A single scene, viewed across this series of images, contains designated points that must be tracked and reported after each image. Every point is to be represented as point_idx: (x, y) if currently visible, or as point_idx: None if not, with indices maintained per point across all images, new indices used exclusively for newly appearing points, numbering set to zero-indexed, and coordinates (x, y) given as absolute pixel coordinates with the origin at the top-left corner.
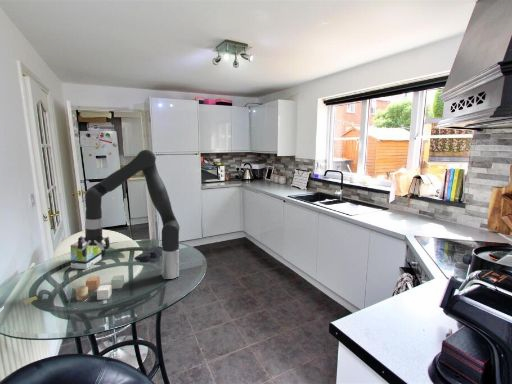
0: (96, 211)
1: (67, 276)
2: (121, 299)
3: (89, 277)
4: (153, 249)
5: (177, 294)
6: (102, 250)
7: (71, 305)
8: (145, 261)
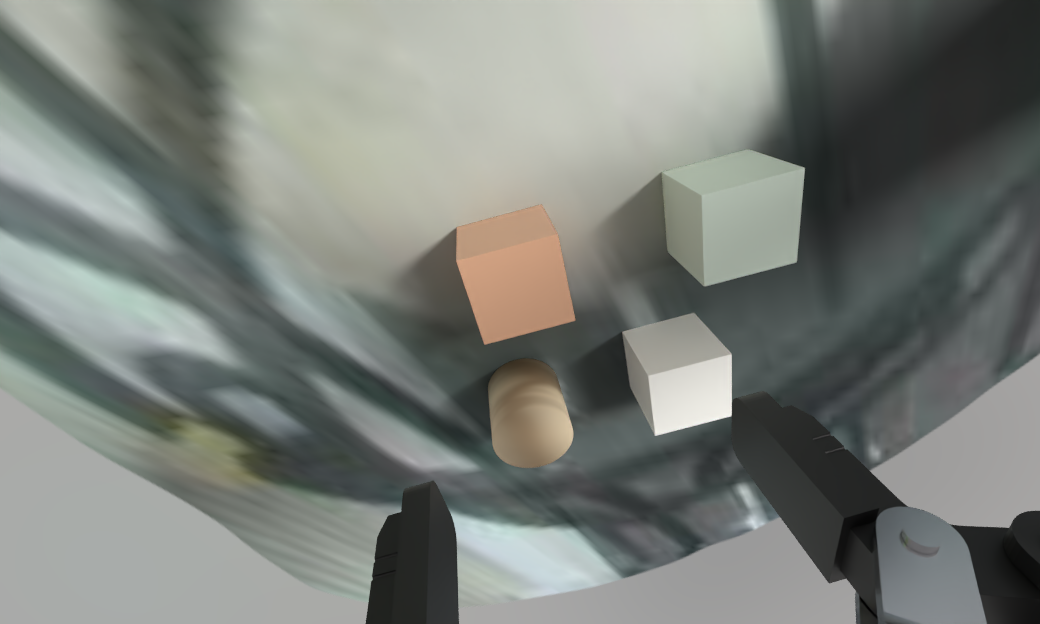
0: None
1: (58, 85)
2: (777, 359)
3: (470, 278)
4: None
5: None
6: (845, 572)
7: None
8: None
